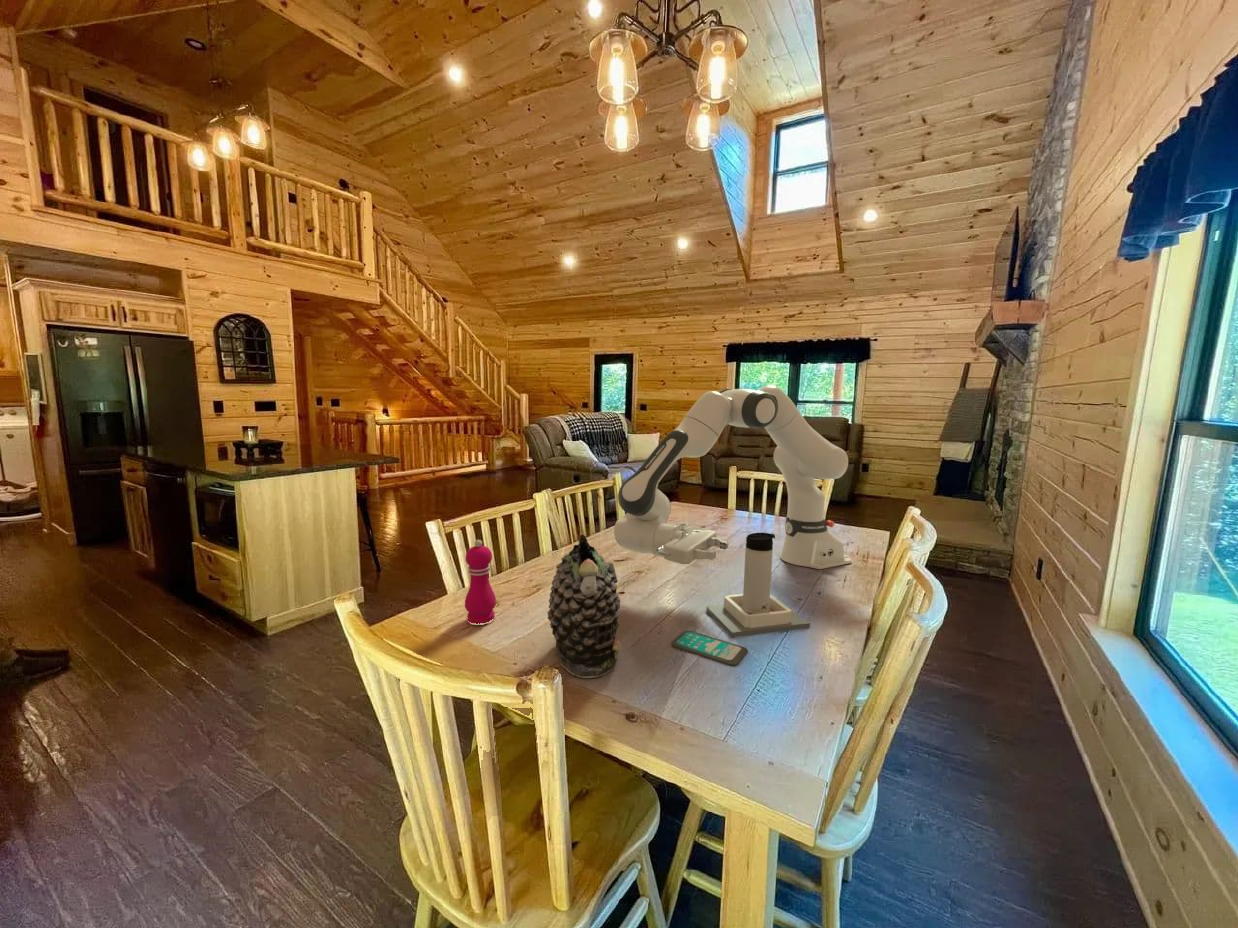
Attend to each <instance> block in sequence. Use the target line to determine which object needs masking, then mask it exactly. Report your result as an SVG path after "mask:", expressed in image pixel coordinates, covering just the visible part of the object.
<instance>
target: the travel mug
mask: <svg viewBox="0 0 1238 928" xmlns="http://www.w3.org/2000/svg"><path fill="white" fill-rule="evenodd" d="M745 539H746V540H745V553H744V571H743V572H744V574H743V590H742V591H743V592H742V594H743V608H742V609H743V610H744V611H745V612H746V613H747V614H749V615H751V614H759V613H768V612H769V604H770V595H771V588H772V587H771V586H772V585H771V584H772V583H771V582H772V568H773V550H774V547H773V545H774V541H773V539H776V535H775V533H769V532H753V533H750V534H748V535H746V537H745Z"/></svg>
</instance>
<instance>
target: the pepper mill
mask: <svg viewBox="0 0 1238 928" xmlns="http://www.w3.org/2000/svg"><path fill="white" fill-rule="evenodd" d="M492 560H493V553H492V551H491V549H490V548H489V547H487V546H486V545H483V541H482V540H481V539H477V540H475V541H474V546H472V547H470V548H469V549H468V550H467V552H466V553H465V562H466V564H467V565H468V567H467V568H468V569H467V570H468V574H469V576H470V583H469V584H470V585H469V588H468V591H467V593H466V596H465V600H464V608H465V610H466V612H468V613H467V616H466V617H467V622H468V621H469V622H471V623H476V624H478V623H479V624H480V623H486V622H489V621H490V620H492V619H494V620H495V618H494V617H495V611H494V608H495V607H496V604H497V598H496V595H495V592H494V590H493V589H492V586H491V584H490V579H489V573H491V565H490V563H491V562H492Z"/></svg>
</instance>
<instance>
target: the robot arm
mask: <svg viewBox="0 0 1238 928" xmlns="http://www.w3.org/2000/svg"><path fill="white" fill-rule="evenodd" d="M728 425H729V426H733V427H736V428H748V429H754V430H755V429H762V428H763V429H765V431H766V432H767V434H768V435H769V436H770V438H771V439H772V441H773V442H774V443H775V445H776V447H775V448H774V451H773V462H774V464H775V466H776V467H777V468H778V469H779V471H780V472H781V474H782V477H783V478H784V481H785V486H786V489H787V514H786V516H785V524H784V529H785V531H784V532H785V534H784V535H785V537H784V541H783V545H782V549H781V551H780V555H779V559H781V560H782V561H784V562H786V563H789V564H791V565H795V566H799V567H800V566H802V567H808V568H811V569H812V568H813V569H816V570H823V569H829V568H834V567H837V566H842V565H847V564H852V559H851V557H850V556H848V555H847V554H845V548H844V543H843V542H842V541H841V539H839V538H838V537H837V536H835V534H833V533H832V532H830V530H828V529H829V528H834V526H835V522H834V521H833V520H831V519H828V520H827V519H825V517H824V515H825V501H826V498H825V494H824V493H823V491H822V490H821V489H820V488H819V487H818V486H817V484H816V482H815V479H820V480H836V479H840V478H841V477H842V476H843V475H844V474H845V473H846V472H847V469H848V467H849V456H848V454H847V452H846V451H845V450H844V449H843V448H841V447H839V446H837V445H835V444H834V443H831V442H830V441H829V440H828V439H826V438H825V437H824V436H822V434H820V433H819V432H817V430H815V429H814V428H813V427H812V426H811V425H810V424H809V423H808V422H807V420H806V419H805V418H804V416H803V415H802V413H801V412H800V411H799V409H798V407H797V405H795V403H794V402H793V400H792V399H791V398H790V397H789V396H788V395H787V393H785V391H783V390H782V389H781V388H780V387H779V386H778V385H774V384H773V385H772V384H770V385H769V384H768V385H764V386H763V387H761V388H759V389H758V390H756V389H751V388H750V389H749V388H734V389H733V388H726V389H722V390H720V391H712V390H711V391H710V390H709V391H707V392H705V393H703V394H702V395H701V396H700V397H699V398H698V399H697V400H696V401H695V403H694V404H693V405H692V406H691V407H690V409H689V410H688V411H687V413H685V416H684V417H683V419H682V420H681V422H680V423H679V424H678V425H677V427H676V428H675V429H674V430H673V431H671V432H669V433H668V434H667V435H666V436H665V437H664V438H663V439H662V440H661V441H660V442H659V444H658V445H657V446H656V447H655V449H654V450H653V451H652V452H651V454H650V455H649V456H648V457H647V458H646V460H645V461H644V462H643V463H642V465H641V466H640V467H639V468H638V470H636V471H635V472H634V473H633V474H631V475H630V476H629V477H628V478H627V479H625V481H624V482H623V483H622V484H621V485H620V487H619V490H618V495H617V499H618V504H619V507H620V508H621V509H622V510H623V511H624V512H625V514H624V515H623V516H622V517H621V518H619V519H617V520H616V522H615V524H614V527H613V528H614V529H613V534H614V539H615V542H616V543H617V545H619V546H620V547H621V548H623V549H625V550H628V551H631V552H632V551H633V552H636V553H641V554H651V555H653V556H656V557H660V558H663V559H665V560H666V561H669V562H673V563H677V564H679V565H690V564H691V563H693V562H694V561H695V560H711V561H712V560H713V561H714V560H715V559H716V557H717V553H716V551H715V550H710V549H711V548H713V547H714V548H715V547H717V548H719V549H721V550H726V549H728V548H729V541H727V540H722V539H720V538H719V537H717V532H716V531H714V530H713V529H709V528H705V527H700V526H693V525H691V526H690V525H689V523H687V522H682V523H675V524H674V523H668V522H667V521H668V518H669V516H670V513H671V506H672V505H671V501H670V500H669V498H668V497H667V495H666V494H665V493H663V492H662V491H661V490H660V489H659V488H658V486H659V483H660V482H661V480H662V479H663V478H664V476H665V475H666V474H667V473H668V472H669V470H670V469H671V467H672V466H673V465H674V464H675V463H676V462H677V461H678V460H680V459H682V458H692V459H693V458H696V459H697V458H699V457H703V456H705V455H706V454H707V453H708V452H709V451H710V450H711V449H712V448H713V447H714V445H715V444H716V442H717V441H718V439H719V438H720V436H721V434H722V433H723V431H724V429H725V427H726V426H728ZM828 527H829V528H828Z"/></svg>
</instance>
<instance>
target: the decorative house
mask: <svg viewBox="0 0 1238 928" xmlns="http://www.w3.org/2000/svg"><path fill="white" fill-rule="evenodd" d="M560 559H561V562H560V563H558V564H556V566H555V567H556V571H555V574H554V576H553V579H552V581H551V585H552V586H551V587H550V593H549V599H548V602H549V605H548V608H549V609H548V611H547V619H548V621H549V622H550V625H549V626H550V628H551V631H552V633H551V634H552V635H553V636H554V639H555V649H556V653H557V656H558V660H559V663H560V665H561V666H562V667H563V669H565V670H566V671H567V672H568V673H570V674H571V675H573V676H576V677H578V678H583V679H593V678H598V677H601V676H605V675H606V674H607V673H609V672H610V671H612V670H613V669H614V668H615V666H616V663H617V661H618V651H619V650H621V649H622V644H621V643H620V641H619V640H618V638H617V637H616V636H617V634H616V633H617V631H618V628H619V626H620V623H619V621H618V620H619V618H620V614H619V612H618V610H619V609H620V607H621V600H620V597H619V595H618V593H617V588H618V585H617V584H616V583H618V576H617V573H616V569H615V566H614V563H613V562H612V561H609V562H608V561H607V562H606V560H605V558H604V557H603V556H602V555H600V554H599V553H598V550H597V549H595V547H594V546H592V545H590V544H589V542H588V540H587V537H586V536H585V535H584V534H581V535H580V537H579V539H578V544H574V545H573V547H572V549H571V550H570V551H569V552H568V553H566V554H565V555H563V557H561V558H560Z"/></svg>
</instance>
